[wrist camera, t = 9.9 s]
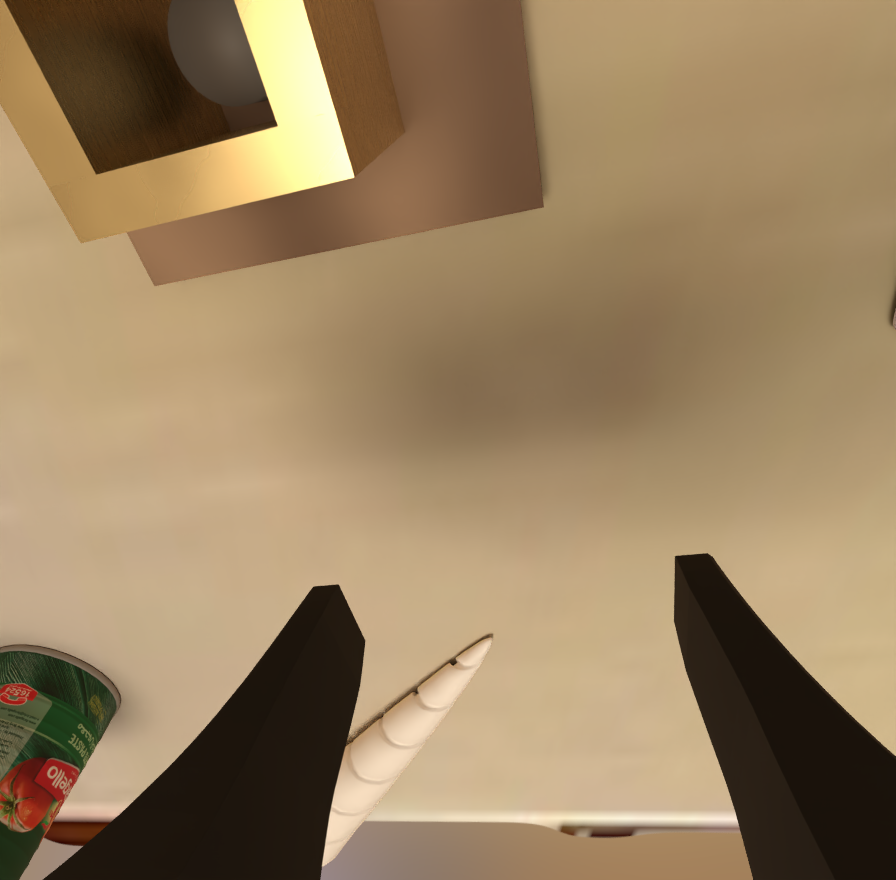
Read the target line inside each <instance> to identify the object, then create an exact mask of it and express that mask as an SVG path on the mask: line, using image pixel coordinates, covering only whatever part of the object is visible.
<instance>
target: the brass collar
mask: <svg viewBox="0 0 896 880" xmlns="http://www.w3.org/2000/svg"><path fill="white" fill-rule="evenodd" d="M171 1H172V0H0V104H1V106H2V108H3V109H4V111H5V113H6V115H7V116H8V118H9V120H10V122H11V123H12V125H13V127H14V128H15V130H16V132H17V134H18V135H19V137H20V139H21V141H22V142H23V144H24V146H25V147H26V149H27V151H28V153H29V154H30V156H31V158H32V160H33V161H34V163H35V165H36V167H37V168H38V170H39V172H40V173H41V175H42V177H43V179H44V180H45V182H46V184H47V186H48V187H49V189H50V191H51V192H52V194H53V196H54V198H55V199H56V201H57V203H58V205H59V206H60V208H61V210H62V211H63V213H64V215H65V217H66V218H67V220H68V222H69V224H70V225H71V227H72V229H73V231H74V232H75V234H76V236H77V237H78V239H79V241H80V243H84V242H88V241H92V240H96V239H100V238H105V237H109V236H113V235H117V234H121V233H125V232H130V231H134V230H138V229H142V228H146V227H150V226H155V225H159V224H163V223H167V222H171V221H175V220H179V219H184V218H188V217H192V216H196V215H200V214H204V213H209V212H213V211H217V210H221V209H225V208H229V207H234V206H238V205H242V204H246V203H250V202H254V201H259V200H263V199H267V198H271V197H275V196H279V195H284V194H288V193H292V192H296V191H300V190H304V189H309V188H313V187H317V186H321V185H325V184H329V183H334V182H338V181H342V180H346V179H350V178H354V177H356V176H357V175H358V174H359V173H360V172H361V171H362V170H363V169H365V168H366V167H367V166H368V165H369V164H370V163H371V162H372V161H374V160H375V159H376V158H377V157H378V156H379V155H380V154H381V153H382V152H384V151H385V150H386V149H387V148H388V147H389V146H390V145H391V144H393V143H394V142H395V141H396V140H397V139H398V138H399V137H400V136H402V135H403V134H404V133H405V130H404V126H403V122H402V117H401V113H400V109H399V105H398V100H397V96H396V92H395V88H394V84H393V79H392V75H391V71H390V67H389V63H388V58H387V54H386V50H385V46H384V42H383V37H382V33H381V29H380V25H379V21H378V16H377V12H376V8H375V4H374V0H234V1H235V4H236V7H237V9H238V12H239V15H240V18H241V21H242V24H243V27H244V30H245V33H246V35H247V38H248V41H249V44H250V47H251V50H252V53H253V56H254V58H255V61H256V64H257V67H258V70H259V73H260V76H261V79H262V81H263V84H264V87H265V90H266V93H267V96H268V99H269V102H270V105H271V107H272V110H273V113H274V116H275V119H276V120H272V121H268V122H265V123H261V124H257V125H254V126H250V127H246V128H242V129H239V130H235V131H231V130H230V128H229V125H228V122H227V120H226V117H225V115H224V112H223V110H222V107H221V104H218V103H216V102H213V101H211V100H210V99H208V98H206V97H205V96H203V95H202V94H201V93H199V92H198V91H197V90H196V89H195V88H194V87H193V86H192V85H191V84H190V83H189V81H188V80H187V79H186V78H185V76H184V75H183V73H182V72H181V70H180V68H179V67H178V65H177V62H176V60H175V58H174V56H173V53H172V50H171V46H170V42H169V36H168V24H167V22H168V12H169V7H170V4H171Z"/></svg>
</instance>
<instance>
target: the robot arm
mask: <svg viewBox="0 0 896 880" xmlns="http://www.w3.org/2000/svg"><path fill="white" fill-rule="evenodd" d="M893 326H894V327H895V329H896V310H895V314H894V319H893ZM674 623H675V627H676V631H677V635H678V640H679V644H680V648H681V652H682V656H683V660H684V664H685V668H686V672H687V675H688V678H689V680H690V683H691V686H692V689H693V692H694V695H695V697H696V700H697V703H698V706H699V709H700V711H701V714H702V717H703V720H704V723H705V725H706V728H707V731H708V734H709V737H710V739H711V742H712V745H713V748H714V751H715V753H716V756H717V759H718V762H719V764H720V767H721V770H722V773H723V776H724V778H725V781H726V784H727V787H728V790H729V793H730V796H731V800H732V803H733V806H734V809H735V812H736V816H737V820H738V823H739V827H740V831H741V835H742V838H743V842H744V846H745V850H746V854H747V857H748V861H749V865H750V868H751V872H752V876H753V880H896V756H895V755H894V754H892V753H891V752H890V751H889V750H888V749H887V748H886V747H884V746H883V745H882V744H881V743H880V742H879V741H878V740H877V739H876V738H875V737H874V736H872V735H871V734H870V733H869V732H868V731H867V730H866V729H865V728H864V727H863V726H862V725H861V724H859V723H858V722H857V721H856V720H855V719H854V718H853V717H852V716H851V715H850V714H849V713H848V712H847V711H846V710H845V709H844V708H843V707H842V706H841V705H840V704H839V703H838V702H837V701H836V700H835V699H834V698H833V697H832V696H831V695H830V694H829V693H828V692H827V691H826V690H825V689H824V688H823V687H822V686H821V685H820V684H819V683H818V682H817V681H816V680H815V679H814V678H813V677H812V676H811V675H810V674H809V673H808V672H807V671H806V670H805V669H804V668H803V666H802V665H801V664H800V663H799V662H798V661H797V660H796V659H795V658H794V657H793V656H792V655H791V653H790V652H789V651H788V650H787V649H786V648H785V647H784V646H783V644H782V643H781V642H780V641H779V640H778V639H777V638H776V636H775V635H774V634H773V633H772V632H771V631H770V630H769V629H768V627H767V626H766V625H765V624H764V623H763V622H762V620H761V619H760V618H759V617H758V616H757V614H756V613H755V612H754V611H753V610H752V608H751V607H750V606H749V605H748V603H747V602H746V601H745V600H744V598H743V597H742V596H741V595H740V593H739V592H738V591H737V590H736V588H735V587H734V586H733V584H732V583H731V582H730V580H729V579H728V578H727V576H726V575H725V574H724V572H723V571H722V569H721V568H720V567H719V565H718V564H717V562H716V561H715V560H714V558H713V557H712V556H710V555H709V554H708V553H706V554H694V555H682V556H675V595H674ZM364 648H365V639H364V637H363V635H362V633H361V631H360V629H359V626H358V624H357V622H356V620H355V618H354V616H353V614H352V612H351V610H350V608H349V605H348V603H347V601H346V599H345V597H344V595H343V593H342V591H341V589H340V586H339V585H327V586H315V587H313V588H312V589H311V591H310V592H309V593H308V595H307V596H306V597H305V599H304V600H303V601H302V603H301V604H300V606H299V607H298V608H297V610H296V611H295V612H294V614H293V615H292V617H291V618H290V619H289V621H288V622H287V624H286V625H285V626H284V628H283V629H282V631H281V632H280V633H279V635H278V636H277V637H276V639H275V640H274V642H273V643H272V644H271V646H270V647H269V648H268V650H267V651H266V652H265V654H264V655H263V656H262V658H261V659H260V660H259V662H258V663H257V664H256V666H255V667H254V668H253V670H252V671H251V672H250V674H249V675H248V676H247V678H246V679H245V680H244V681H243V683H242V684H241V685H240V686H239V688H238V689H237V690H236V691H235V693H234V694H233V695H232V696H231V697H230V699H229V700H228V701H227V702H226V704H225V705H224V706H223V707H222V709H221V710H220V711H219V712H218V713H217V715H216V716H215V717H214V718H213V719H212V720H211V722H210V723H209V724H208V725H207V726H206V727H205V729H204V730H203V731H202V732H201V733H200V734H199V735H198V736H197V738H196V739H195V740H194V741H193V742H192V743H191V744H190V745H189V746H188V747H187V748H186V749H185V751H184V752H183V753H182V754H181V755H180V756H179V757H178V758H177V759H176V760H175V761H174V762H173V763H172V764H171V765H170V766H169V767H168V768H167V769H166V770H165V771H164V772H163V773H162V774H161V775H160V776H159V777H158V778H157V779H156V780H155V781H154V782H153V783H152V784H151V785H150V786H149V787H148V788H147V789H146V790H145V791H144V792H143V793H142V794H141V795H140V796H139V797H137V798H136V799H135V800H134V801H133V802H132V803H131V804H130V805H129V806H128V807H127V808H126V809H125V810H124V811H123V812H122V813H121V814H120V815H118V816H117V817H116V818H115V819H114V820H113V821H112V822H111V823H109V824H108V825H107V826H106V827H105V828H104V829H103V830H102V831H101V832H99V833H98V834H97V835H96V836H95V837H94V838H92V839H91V840H90V841H89V842H88V843H87V844H85V845H84V846H83V847H82V848H81V849H80V850H78V852H76V853H75V854H74V855H73V856H72V857H70V858H69V859H68V860H67V861H65V862H64V863H63V864H62V865H61V866H59V867H58V868H57V869H56V870H54V871H53V872H52V873H51V874H49V875H48V876H47V877H45V878H44V879H43V880H320V877H321V870H322V862H323V856H324V849H325V842H326V836H327V829H328V823H329V816H330V811H331V806H332V801H333V796H334V791H335V787H336V783H337V779H338V775H339V771H340V767H341V763H342V759H343V755H344V750H345V746H346V742H347V738H348V734H349V730H350V726H351V722H352V718H353V714H354V709H355V705H356V701H357V697H358V692H359V688H360V682H361V674H362V667H363V657H364Z"/></svg>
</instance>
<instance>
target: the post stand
mask: <svg viewBox="0 0 896 880" xmlns="http://www.w3.org/2000/svg"><path fill="white" fill-rule="evenodd" d="M374 4H375V8H376V12H377V16H378V21H379V25H380V29H381V33H382V37H383V42H384V46H385V50H386V54H387V58H388V63H389V67H390V71H391V75H392V79H393V84H394V88H395V92H396V96H397V100H398V105H399V109H400V113H401V117H402V122H403V126H404V130H405V133H404V134H403V135H402V136H400V137H399V138H398V139H397V140H396V141H395V142H394V143H393V144H391V145H390V146H389V147H388V148H387V149H386V150H385V151H384V152H382V153H381V154H380V155H379V156H378V157H377V158H376V159H375V160H374V161H372V162H371V163H370V164H369V165H368V166H367V167H366V168H365V169H363V170H362V171H361V172H360V173H359V174H358V175H357V176H356V177H354V178H350V179H346V180H342V181H338V182H334V183H329V184H325V185H321V186H317V187H313V188H309V189H304V190H300V191H296V192H292V193H288V194H284V195H279V196H275V197H271V198H267V199H263V200H259V201H254V202H250V203H246V204H242V205H238V206H234V207H229V208H225V209H221V210H217V211H213V212H209V213H204V214H200V215H196V216H192V217H188V218H184V219H179V220H175V221H171V222H167V223H163V224H159V225H155V226H150V227H146V228H142V229H138V230H134V231H130V232H127V234H128V236H129V238H130V240H131V242H132V243H133V245H134V247H135V249H136V251H137V253H138V255H139V257H140V259H141V261H142V263H143V265H144V267H145V269H146V270H147V272H148V274H149V276H150V278H151V280H152V282H153V284H154V286H158V285H163V284H167V283H172V282H177V281H182V280H187V279H192V278H197V277H202V276H207V275H212V274H217V273H222V272H227V271H231V270H236V269H241V268H246V267H251V266H256V265H261V264H266V263H271V262H276V261H281V260H286V259H291V258H296V257H300V256H305V255H310V254H315V253H320V252H325V251H330V250H335V249H340V248H345V247H350V246H355V245H360V244H364V243H369V242H374V241H379V240H384V239H389V238H394V237H399V236H404V235H409V234H414V233H419V232H424V231H429V230H433V229H438V228H443V227H448V226H453V225H458V224H463V223H468V222H473V221H478V220H483V219H488V218H493V217H497V216H502V215H507V214H512V213H517V212H522V211H527V210H532V209H537V208H542V207H544V206H543V197H542V188H541V179H540V170H539V161H538V153H537V144H536V135H535V126H534V117H533V108H532V100H531V91H530V82H529V73H528V64H527V55H526V47H525V38H524V29H523V20H522V11H521V2H520V0H374ZM167 24H168V36H169V42H170V46H171V50H172V53H173V56H174V58H175V60H176V62H177V65H178V67H179V68H180V70H181V72H182V73H183V75H184V76H185V78H186V79H187V80H188V81H189V83H190V84H191V85H192V86H193V87H194V88H195V89H196V90H197V91H198V92H199V93H201V94H202V95H203V96H205V97H206V98H208V99H210V100H211V101H213V102H216V103H218V104H221V107H222V110H223V112H224V115H225V117H226V120H227V122H228V125H229V128H230V130H231V131H235V130H239V129H242V128H246V127H250V126H254V125H257V124H261V123H265V122H268V121H272V120H276V119H275V116H274V113H273V110H272V107H271V105H270V102H269V99H268V96H267V93H266V90H265V87H264V84H263V81H262V79H261V76H260V73H259V70H258V67H257V64H256V61H255V58H254V56H253V53H252V50H251V47H250V44H249V41H248V38H247V35H246V33H245V30H244V27H243V24H242V21H241V18H240V15H239V12H238V9H237V7H236V4H235V1H234V0H172V1H171V4H170V7H169V12H168V22H167Z"/></svg>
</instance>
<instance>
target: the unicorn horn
mask: <svg viewBox="0 0 896 880" xmlns="http://www.w3.org/2000/svg"><path fill="white" fill-rule="evenodd" d="M491 644H492V638H487V639H484V640H482V641H480V642H478V643H477V644H475V645H474V646H472V647H471V648H469V649H468V650H466V651H465V652H463V653H462V654H460V655H459V656H458V657H456V661H457V663H456V664H455V665H454V666H452V665H451V664H450V663H448V664H447V665H445V666H444V667H443V668H442V669H440V670H439V671H438V672H436V673H435V674H434V675H433V676H431V677H430V678H429V679H428V680H426V681H425V682H424V683H422V684H421V685H420V686H419V687H418V692H419V693H418V694H416V692H412V693H411V694H409V695H408V696H407V697H405V698H404V699H403V700H402V701H400V702H399V703H398V704H396V705H395V706H394V707H393V708H392V709H390V710H389V711H388V712H387V713H385V714H384V715H383V718H381V719H378V720H377V721H376V722H375V723H373V724H372V725H371V726H370V727H369V728H367V729H366V730H365V731H364V732H363V733H362V734H360V735H359V736H358V737H357V738H356V739H354V741H353V742H352V743H350V744H349V745H347V746H346V747H345V750H344V755H343V759H342V763H341V767H340V771H339V775H338V779H337V783H336V787H335V791H334V796H333V801H332V806H331V811H330V816H329V823H328V829H327V836H326V842H325V849H324V856H323V862H322V867H323V866H324V865H326V864H327V863H329V862H330V861H331V860H333V859H334V858H335V857H336V856H337V854H338V853H339V852H340V850H341V849H342V848H343V846H344V845H345V844H346V842H347V841H348V840H349V839H350V837H351V836H352V835H353V833H354V831H355V830H357V828H358V827H359V826H360V825H361V824H362V823H363V821H364V820H365V819H366V818H367V816H368V815H369V814H370V813H371V812H372V810H373V809H374V808H375V807H376V805H377V803H378V802H380V800H381V799H382V798H383V797H384V795H385V794H386V793H387V791H388V790H389V789H390V788H391V786H392V785H393V784H394V782H395V781H396V780H397V779H398V777H399V776H400V774H401V773H402V771H404V770H405V768H406V767H407V766H408V765H409V763H410V762H411V761H412V759H413V758H414V757H415V756H416V754H417V753H418V752H419V750H420V749H421V748H422V746H423V745H424V744H425V742H426V741H427V739H428V738H429V737H430V736H431V734H432V733H433V732H434V730H435V729H436V728H437V726H438V725H439V724H440V722H441V721H442V719H443V718H444V717H445V715H446V714H447V713H448V711H449V710H450V709H451V707H452V706H453V704H454V702H455V700H457V699H458V697H459V696H460V694H461V693H462V692H463V690H464V689H465V687H466V686H467V684H468V683H469V681H470V680H471V678H472V677H473V675H474V674H475V672H476V671H477V669H478V668H479V666H480V665H481V663H482V661H483V659H484V657H485V655H486V654H487V652H488V650H489V648H490V646H491Z"/></svg>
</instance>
